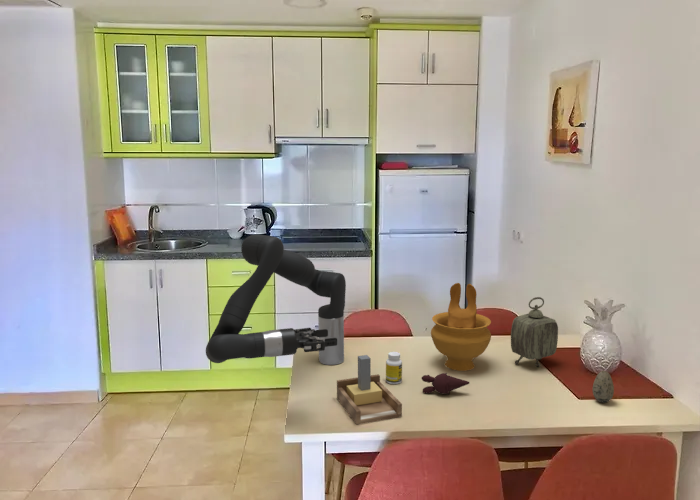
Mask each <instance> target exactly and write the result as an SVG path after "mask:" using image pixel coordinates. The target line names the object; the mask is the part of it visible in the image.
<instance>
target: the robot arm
mask: <svg viewBox="0 0 700 500" xmlns="http://www.w3.org/2000/svg"><path fill="white" fill-rule="evenodd" d="M241 243H242V244H241V246H240V247H241V249H240V250H241V254H242V257H243V259H244V260H245V262H246V263H248V264H250V265H253V266H257V267H256V269H255V270H254V272H253V273H252V274H251V276H250V277H249V278H248V279H246V281H245V282H243V284H241V285H240V286H238V287H237V289H236V290H235V291H234V292H233V293H232V294H231V296H229V298H228V300H227V302H226V304H225V306H224V308H223V311H222V313H221V315H220V317H219V321H218V323H217V325H216V327H215V329H214V331H213V333H212V334H211V336H210V338H209V340H208V341H207V344H206V347H205V355H206V358H207V359H208V360H209V361H210V362H212V363H214V364H222V363H224V362H226V361H229V360H236V359H242V358H243V359H259V358H274V357H283V356H291V355H296V353H297V352H298V351H297V350H298V349H303V352H304V353H309V352H318V362H319V363H321V364H323V365H328V366H335V365H339V364H342V363H344V361H345V331H344V330H345V329H344V328H345V320H344V317H345V316H344V312H345V311H344V310H345V307H346V290H347V289H346V288H347V286H346V285H347V282H346V278H345V275H344V274H343V273H341V272H333V271H325V270H319V269H316V268H315V265H314V263H313V262H312V261H311V259H309V258H308V257H305V256H304V255H303V254H300V253H298V252H294V251H290V250H286V249H285V248H284V243H283V241H282V240H281V239H280V238H279V237H278V236H273V235H265V234H251V235H248V236H247V237H246V238H244V240H243V241H242V242H241ZM274 273H275V274H276V275H278V276H279V277H281V278H283V279H286V280H287V281H290V282H291V283H294V284H296V285H299V286H302V287H305V288H306V289H308V290H309V291H311V292H312V293H313V294H315V295H317V296H319V297H323V298H330V300H329V304H325V305H321V306H319V307H318V310H317V311H318V313H317V314H318V317H317V319H318V320H317V321H318V329H313V328H312V327H304V328H296V329H294V328H293V327H289V328H279V329H271V330H270V329H269V330H266V331H260V332H250V333H244V334H243V333H242V334H241V331H242V330H243V328H244V327H245V325H246V323H247V320H248V317H249V316H250V314H251V311H252V309H253V306H254V305H255V303H256V301H257V299H258V298H259V296H260V294H261V293H262V291H263V290H264V288H265V287H266V285H267V284H268V283H269V280H270V279H271V277H272V276H273V274H274Z"/></svg>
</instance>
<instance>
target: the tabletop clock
mask: <svg viewBox="0 0 700 500" xmlns="http://www.w3.org/2000/svg"><path fill="white" fill-rule="evenodd" d="M535 300H541V302H542V304H541V305H539V306H538V304H535V305H534V306H533V307H532V306H531V304H532V302H533V301H535ZM544 304H545V300H544V298H542V297H541V296H537V297H533V298H532V299H530V300H529V302H528V307H529V308H530V309H531V310H530V311H528V313H526V314H522V315H518V316H515V318H513V320H512V324H511V329H510V331H511V332H510V348H511V351H512V353H514V354H515V355H518V356H520V357H519V358H518V359H516V360H514V364H515V365H517V366H518V365H519V364H520V361H521V360H522V359H523V358H525V359H528V360H535V361H536V363H535V367H536V368H539V367H540V366H541V363H540V362H539V360H540V361H541V360H542V359H543V358H547V357H550V356H553V355H554V354H556V352H557V347H558V340H559V338H558V337H559V326H558V322H557V321H556V319H554V318H552V317H548V316H546V315H544V314H543V312H542V310H540V308H542V307H543V306H544Z"/></svg>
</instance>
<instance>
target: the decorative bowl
mask: <svg viewBox="0 0 700 500" xmlns="http://www.w3.org/2000/svg"><path fill="white" fill-rule="evenodd" d="M461 286H462V285H461V283H459V282H456V283H454V284H452V285H451V286H450V288H449V295H450V301H449V304H448V308H447V311H446V312H440V313H436V314H435V315H433V316H432V319H431V320H432V321H433V323H434V326H432V328H431V330H430V336H431V337H430V338H431V339H432V342H433V344H434V346H435V349H437V351H438V352H439V353H440V354H442V355H443V356H445V357H446V358H447V359H446V361H445V362H444V366H445V367H446V368H447V369H449V370H452V371H458V372H461V371H462V372H465V371H471V370H473V369H474V368H475V367H476V365H475V364H474V359H475V358H478V357H480V356H481V355H482V354H483V353H485V351H486V349H488V346H489V344H490V342H491V340H492V333H491V330H490V329H489V328H488V327H489V326H490V325H491V323H492V320H491V319H490V318H489V317H488V316H485V315H483V314H479V313H478V312H477V311H478V309H477V290H476V288H475V287H474V285H472V284H471V283H467V285H466V289H465V290H466V291H465V296H466V297H465V298H466V301H467V306H466V308H462V307H461V306H460V301H461V297H462V296H461V294H462V287H461Z"/></svg>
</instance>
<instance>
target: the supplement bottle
mask: <svg viewBox="0 0 700 500" xmlns="http://www.w3.org/2000/svg"><path fill="white" fill-rule="evenodd" d="M387 355H388V356H387V357H388V358H387V359H386V360H385V382H386V383H387V384H390V385H398V384H399V385H400V384H401V383H402V378H403V360H402V359H401V353H400V352H398V351H390V352H388V354H387Z"/></svg>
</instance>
